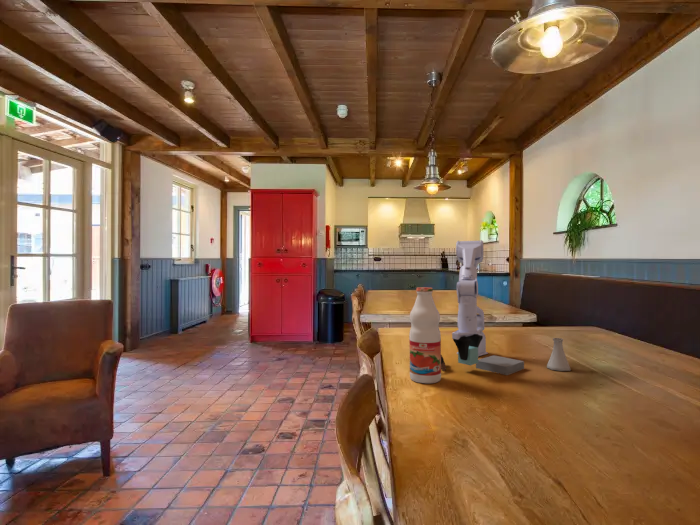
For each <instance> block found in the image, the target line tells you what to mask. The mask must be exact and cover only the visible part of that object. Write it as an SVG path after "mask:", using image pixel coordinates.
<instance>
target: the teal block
mask: <svg viewBox="0 0 700 525" xmlns="http://www.w3.org/2000/svg"><path fill="white" fill-rule="evenodd" d="M457 352H458V351H457ZM457 358H458V359H457V361H458V362H457V363H458V364H463V365H467V366H472V365H476V363H478V360H479V356H478V348H477V347H472V346H469V349H468V358H467V360H461V359H460V355H459V352H458V354H457Z"/></svg>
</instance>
